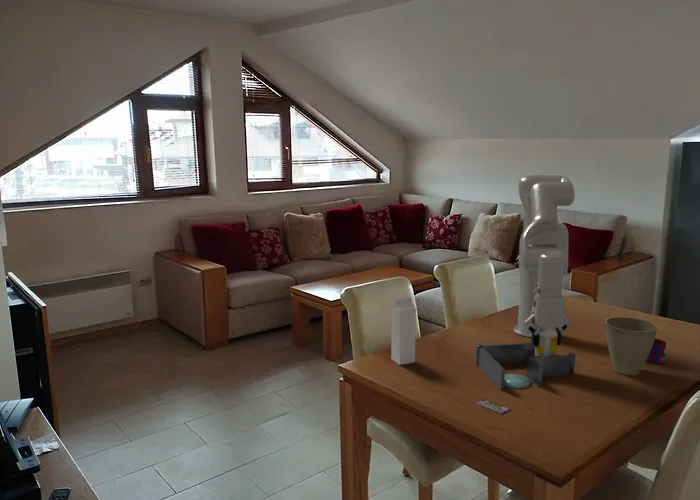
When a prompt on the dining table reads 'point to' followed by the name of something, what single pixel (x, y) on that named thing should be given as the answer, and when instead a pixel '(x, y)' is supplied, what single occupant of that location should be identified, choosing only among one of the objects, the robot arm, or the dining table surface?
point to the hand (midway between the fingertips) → (546, 344)
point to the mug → (657, 352)
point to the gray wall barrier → (518, 353)
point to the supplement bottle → (547, 342)
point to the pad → (516, 381)
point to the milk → (403, 331)
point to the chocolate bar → (493, 407)
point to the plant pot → (629, 343)
